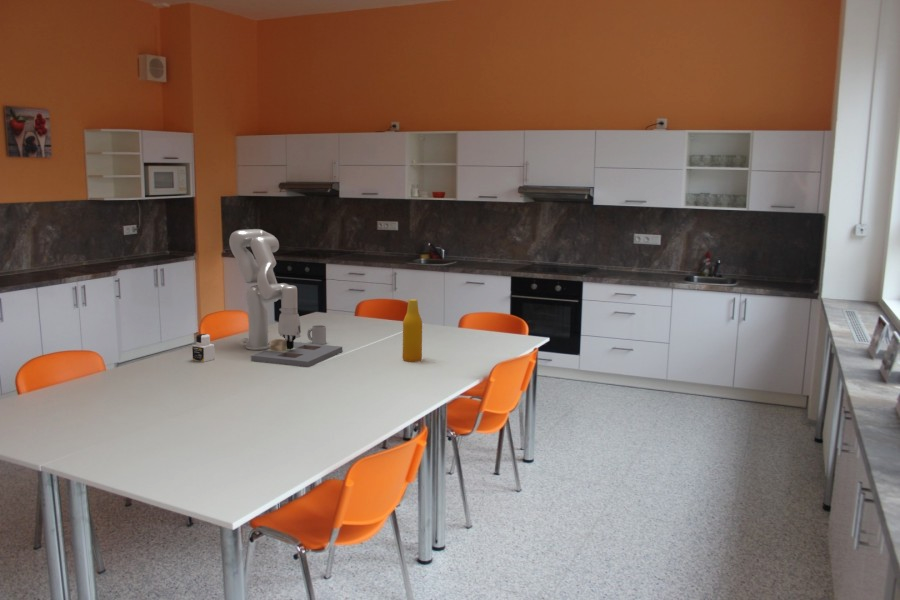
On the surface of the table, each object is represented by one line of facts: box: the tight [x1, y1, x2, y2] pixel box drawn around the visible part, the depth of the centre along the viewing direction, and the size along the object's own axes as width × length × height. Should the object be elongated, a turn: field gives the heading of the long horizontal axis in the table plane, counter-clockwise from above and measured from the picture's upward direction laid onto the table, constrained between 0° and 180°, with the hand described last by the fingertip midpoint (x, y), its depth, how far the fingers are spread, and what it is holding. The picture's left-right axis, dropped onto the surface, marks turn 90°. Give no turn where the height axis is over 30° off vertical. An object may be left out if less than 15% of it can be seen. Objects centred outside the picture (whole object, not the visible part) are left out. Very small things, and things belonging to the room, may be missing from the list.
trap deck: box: [250, 341, 343, 368], centre depth 370 cm, size 30×34×2 cm
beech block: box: [269, 338, 287, 351], centre depth 371 cm, size 6×6×4 cm
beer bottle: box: [402, 298, 423, 363], centre depth 365 cm, size 9×9×29 cm
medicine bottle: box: [191, 333, 216, 363], centre depth 358 cm, size 7×7×12 cm
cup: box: [306, 324, 327, 345], centre depth 398 cm, size 7×10×9 cm
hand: (290, 348), depth 371 cm, fingers closed
